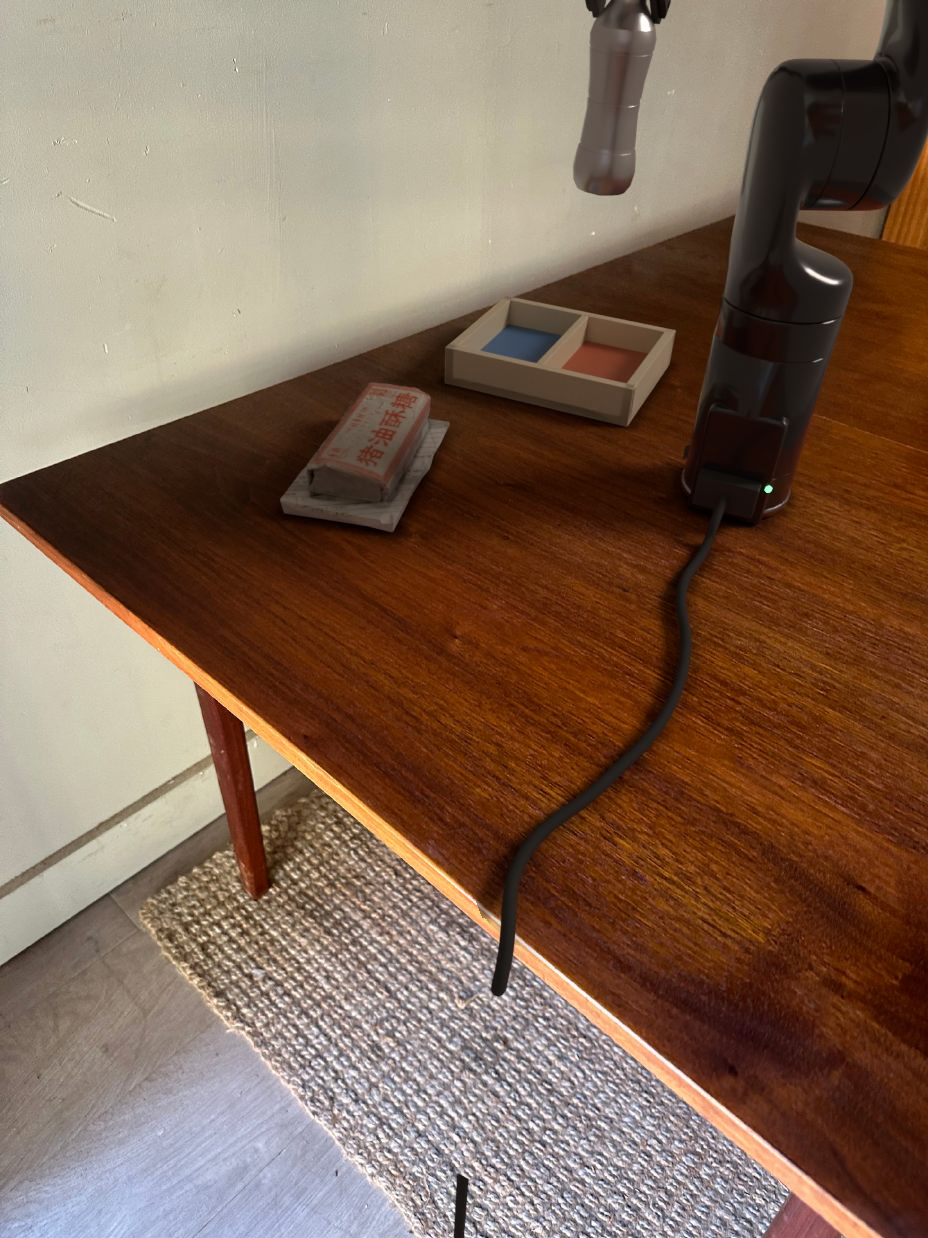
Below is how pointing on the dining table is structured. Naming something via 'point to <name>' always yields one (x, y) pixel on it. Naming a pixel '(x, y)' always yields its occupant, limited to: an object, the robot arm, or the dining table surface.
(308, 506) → the packaged product
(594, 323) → the sorting tray
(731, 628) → the dining table surface
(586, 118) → the plastic bottle
